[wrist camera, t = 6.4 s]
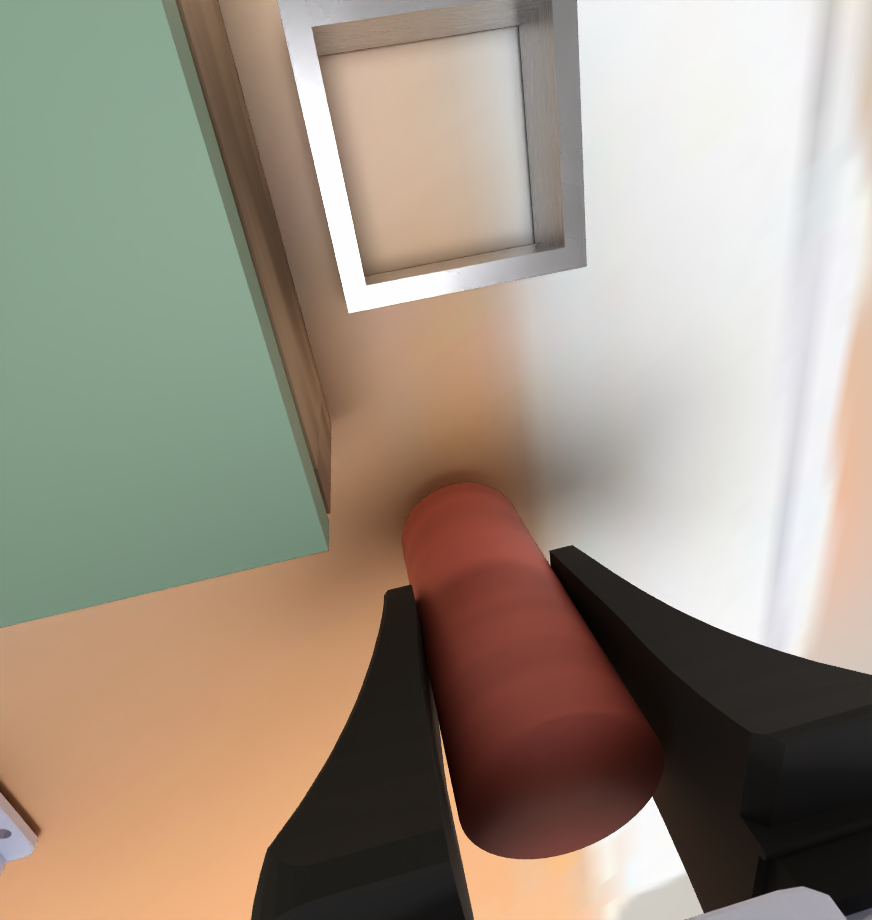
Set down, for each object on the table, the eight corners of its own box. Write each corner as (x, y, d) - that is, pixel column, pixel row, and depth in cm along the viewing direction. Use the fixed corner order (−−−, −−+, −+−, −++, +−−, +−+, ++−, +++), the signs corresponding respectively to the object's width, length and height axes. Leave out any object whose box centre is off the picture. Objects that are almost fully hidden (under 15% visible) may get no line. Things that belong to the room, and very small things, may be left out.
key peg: (523, 569, 17) (661, 825, 10) (413, 596, 17) (472, 880, 10) (512, 470, 16) (667, 688, 8) (391, 498, 15) (443, 748, 8)
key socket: (554, 259, 14) (586, 266, 12) (346, 300, 14) (348, 313, 12) (538, -7, 12) (575, -47, 10) (284, 31, 11) (276, -4, 10)
